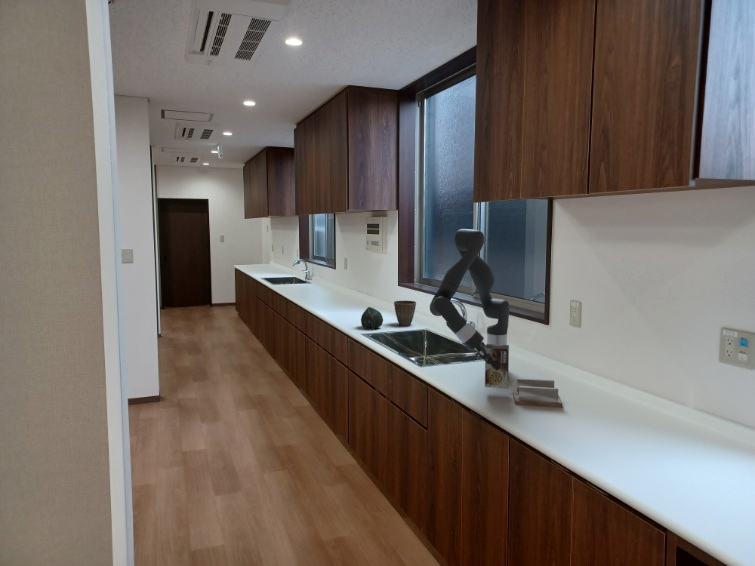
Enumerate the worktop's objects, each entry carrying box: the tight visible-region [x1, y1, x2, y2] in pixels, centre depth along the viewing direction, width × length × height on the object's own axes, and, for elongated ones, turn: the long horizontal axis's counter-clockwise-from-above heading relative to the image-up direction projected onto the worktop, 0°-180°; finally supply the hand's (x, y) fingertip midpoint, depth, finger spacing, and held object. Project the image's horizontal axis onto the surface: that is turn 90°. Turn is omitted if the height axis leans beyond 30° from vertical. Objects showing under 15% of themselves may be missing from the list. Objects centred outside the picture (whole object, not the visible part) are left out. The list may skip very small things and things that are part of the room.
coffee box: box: [484, 343, 510, 389], centre depth 206 cm, size 9×6×16 cm
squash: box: [360, 306, 384, 330], centre depth 342 cm, size 14×15×15 cm
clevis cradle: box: [512, 377, 563, 408], centre depth 201 cm, size 14×17×6 cm
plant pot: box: [393, 300, 417, 327], centre depth 351 cm, size 15×15×16 cm
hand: (498, 366), depth 206 cm, fingers closed on coffee box, 6 cm apart
